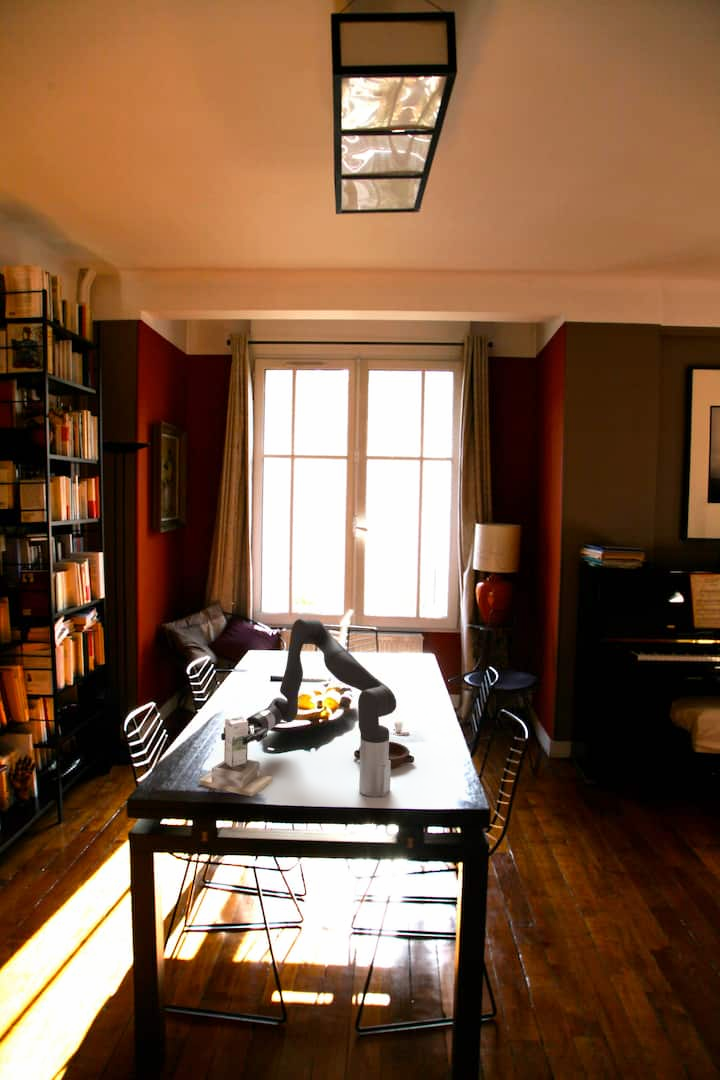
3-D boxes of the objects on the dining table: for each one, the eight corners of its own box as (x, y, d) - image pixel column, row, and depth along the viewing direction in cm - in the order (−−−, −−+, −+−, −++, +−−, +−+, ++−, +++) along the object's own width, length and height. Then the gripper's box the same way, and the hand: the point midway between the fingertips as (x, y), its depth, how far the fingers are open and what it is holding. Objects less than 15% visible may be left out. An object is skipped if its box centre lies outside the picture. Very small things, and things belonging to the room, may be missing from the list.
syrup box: (240, 757, 200) (240, 715, 200) (247, 764, 195) (248, 720, 195) (224, 761, 197) (224, 718, 196) (231, 768, 192) (232, 723, 191)
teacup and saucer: (411, 736, 244) (411, 726, 244) (392, 737, 242) (393, 727, 242) (405, 728, 252) (405, 719, 252) (387, 729, 251) (387, 720, 251)
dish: (411, 776, 205) (412, 761, 205) (348, 769, 209) (349, 755, 209) (416, 756, 222) (416, 743, 222) (358, 750, 226) (358, 737, 226)
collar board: (271, 781, 198) (272, 763, 198) (251, 796, 187) (252, 777, 187) (221, 770, 206) (221, 753, 205) (199, 784, 194) (199, 766, 194)
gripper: (242, 710, 212) (214, 724, 196) (277, 716, 206) (251, 731, 191) (242, 730, 212) (214, 747, 197) (277, 737, 206) (251, 754, 191)
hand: (232, 739), depth 194 cm, fingers closed on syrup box, 8 cm apart
